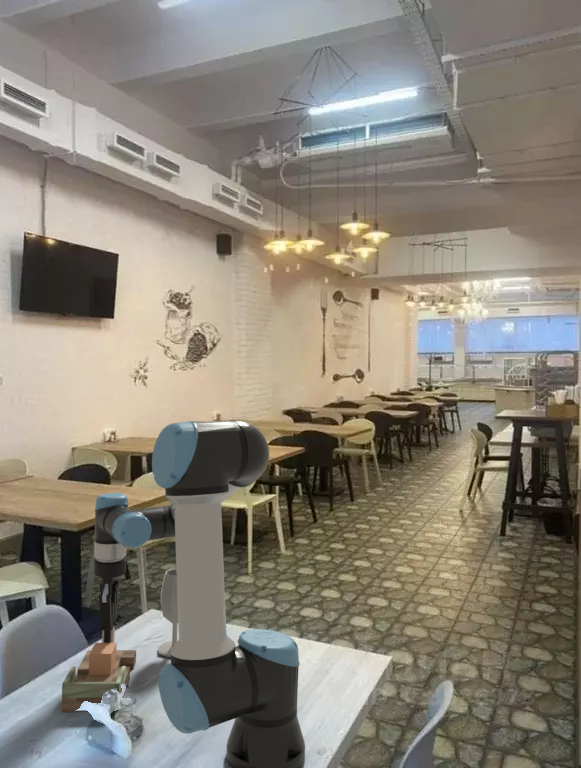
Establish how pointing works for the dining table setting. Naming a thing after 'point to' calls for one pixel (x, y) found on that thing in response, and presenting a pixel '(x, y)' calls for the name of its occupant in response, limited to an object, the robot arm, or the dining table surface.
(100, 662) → the block
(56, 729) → the dining table surface
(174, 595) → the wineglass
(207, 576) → the robot arm
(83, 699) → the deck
